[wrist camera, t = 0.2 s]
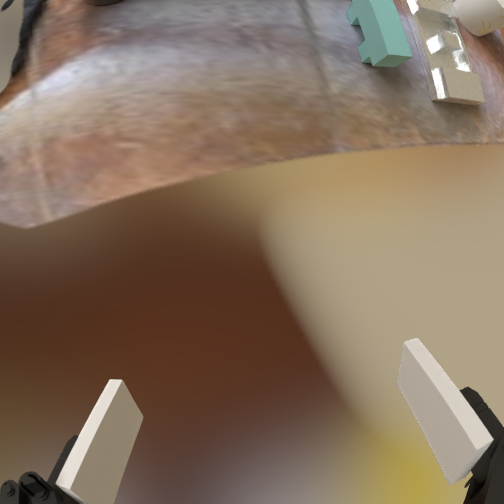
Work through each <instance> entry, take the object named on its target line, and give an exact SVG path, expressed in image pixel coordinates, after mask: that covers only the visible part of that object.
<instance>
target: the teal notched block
mask: <svg viewBox="0 0 504 504" xmlns="http://www.w3.org/2000/svg"><path fill="white" fill-rule="evenodd" d="M351 1H352V4H351V6H350V7H349V9H348V10H347V12H346V13H347V16H348V19H349V21H350V24H351V25H359V26H361V29H362V32H363V35H364V39H365V41H364V42H363V43H362V44H361V45H360V46H359V47H358V51H359V54H360V58H361V62H362V63H372V66H382V67H396V66H398V65H400V64H402V63H403V62H405V61H407V60H408V59H410V58H412V57H413V56H412V52H411V49H410V46H409V43H408V40H407V37H406V34H405V31H404V28H403V25H402V23H401V20H400V17H399V15H398V12H397V10H396V7H395V5H394V2H393V0H351Z"/></svg>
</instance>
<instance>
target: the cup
mask: <svg viewBox="0 0 504 504" xmlns="http://www.w3.org/2000/svg"><path fill="white" fill-rule="evenodd" d="M453 4H454V6H455V9H456V11H457V13H458V16H459V19H458V20H459V21H460V23H461V24H462V25H463V26H464V27H465V28H466V29H467V30H468V31H469V32H470V33H472V34H473V35H476V36H482V35H485V34H487V33H490V32H492V31H495V30H497V29H500V28H502V27H504V0H457V1H455V2H454V3H453Z"/></svg>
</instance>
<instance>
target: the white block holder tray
mask: <svg viewBox="0 0 504 504" xmlns="http://www.w3.org/2000/svg"><path fill="white" fill-rule="evenodd" d="M400 3H401V5H402V7H403V10H404V12H405V15H406V17H407V20H408V23H409V25H410V28H411V31H412V34H413V37H414V40H415V43H416V46H417V49H418V52H419V55H420V59H421V62H422V66H423V69H424V73H425V77H426V81H427V85H428V89H429V94H430V98H431V101H442V102H452V103H460V104H467V105H479V104H481V103H485V98H484V94H483V89H482V85H481V81H480V77H479V74H476V73H473V70H472V66H471V63H470V60H469V56H468V53H467V50H466V47H465V44H464V41H463V39H462V36H461V33H460V30H459V28H458V25H457V23H456V20H457V19H459V16H458V13H457V11H456V9H455V6H454V4H453V2H452V0H400Z"/></svg>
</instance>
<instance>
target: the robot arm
mask: <svg viewBox="0 0 504 504" xmlns="http://www.w3.org/2000/svg"><path fill="white" fill-rule="evenodd" d="M85 1H86V2H88V3H89V4H92V5H108V4H112V3H116V2H118V1H121V0H85ZM397 386H398V388H399V390H400V391H401V393H402V395H403V397H404V399H405V400H406V402H407V404H408V406H409V408H410V409H411V411H412V413H413V415H414V417H415V419H416V421H417V422H418V424H419V426H420V428H421V430H422V432H423V434H424V436H425V437H426V439H427V441H428V443H429V445H430V447H431V449H432V451H433V453H434V455H435V457H436V459H437V461H438V463H439V465H440V467H441V469H442V471H443V473H444V475H445V477H446V480H447V482H448V484H449V486H450V485H452V484H454V483H456V482H458V481H459V480H461V479H463V478H465V477H466V476H467V474H468V473H469V472H470V471H471V472H472V473H473V476H472V477H471V478H470V480H469V481H468V482H467V483H466V485H465V488H466V487H467V486H468V485H469V484H470V485H469V488H468V491H467V494H466V497H465V500H464V503H463V504H504V427H503V426H502V424H501V423H500V422H499V420H498V419H497V417H496V416H495V415H494V414H493V412H492V411H491V409H490V408H488V406H487V404H486V403H485V402H484V401H483V399H482V398H481V396H480V395H479V394H478V393H477V392H476V391H474V390H472V389H471V388H469V387H466V388H464V389H462V390H460V391H459V390H458V388H457V387H456V386H455V384H454V383H453V382H452V381H451V379H450V378H449V377H448V375H447V374H446V373H445V371H444V370H443V369H442V368H441V366H440V365H439V364H438V363H437V361H436V360H435V359H434V358H433V356H432V355H431V354H430V353H429V351H428V350H427V349H426V348H425V347H424V345H423V344H422V343H421V342H420V341H419V339H418V338H415V339H411V340H408V341H405V342H403V348H402V355H401V361H400V367H399V374H398V379H397ZM142 420H143V415H142V414H141V412H140V411H139V409H138V407H137V405H136V404H135V402H134V400H133V398H132V396H131V395H130V393H129V391H128V389H127V387H126V386H125V384H124V382H123V380H109V382H108V384H107V386H106V387H105V389H104V391H103V393H102V394H101V396H100V398H99V400H98V401H97V404H96V405H95V407H94V409H93V411H92V413H91V414H90V416H89V418H88V420H87V422H86V424H85V425H84V427H83V429H82V431H81V433H80V435H79V436H76V435H74V436H73V437H72V438H71V439H70V440H69V441H68V442H67V444H66V446H65V448H64V449H63V452H62V453H61V455H60V459H58V461H57V463H56V465H55V467H54V469H53V471H52V473H51V475H50V477H49V479H48V481H47V482H46V481H44V480H43V479H42V478H41V477H40V476H39V475H38V474H37V473H35V472H32V471H31V472H26V473H24V474H23V475H22V476H21V477H20V479H19V482H18V484H17V483H16V482H15V481H13V480H8V481H6V482H4V483H3V485H2V486H1V489H0V504H113V503H114V500H115V497H116V494H117V491H118V488H119V485H120V482H121V479H122V476H123V473H124V470H125V467H126V464H127V461H128V458H129V456H130V453H131V450H132V447H133V444H134V442H135V439H136V436H137V433H138V430H139V428H140V425H141V422H142Z"/></svg>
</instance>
